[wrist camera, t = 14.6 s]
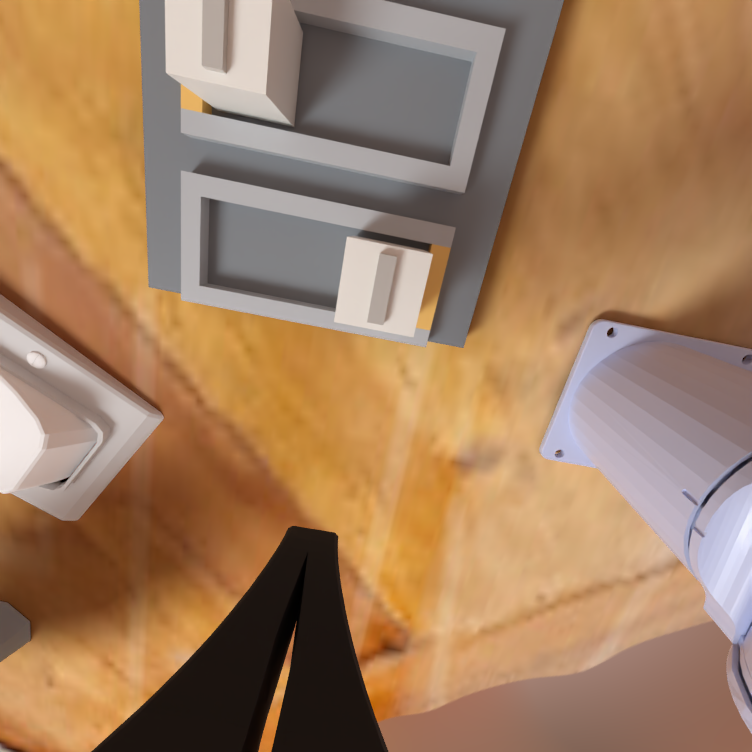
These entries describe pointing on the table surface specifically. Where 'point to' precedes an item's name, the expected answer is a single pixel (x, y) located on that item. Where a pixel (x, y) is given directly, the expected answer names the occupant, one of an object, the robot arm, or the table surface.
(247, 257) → the switch unit
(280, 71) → the slider mid
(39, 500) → the light switch
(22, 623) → the jet engine
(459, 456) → the table surface
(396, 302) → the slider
